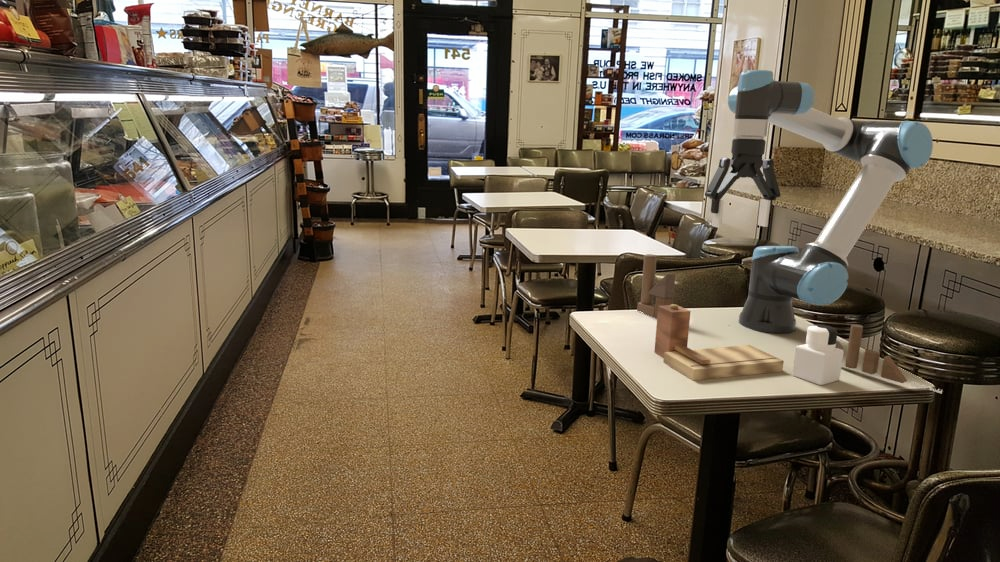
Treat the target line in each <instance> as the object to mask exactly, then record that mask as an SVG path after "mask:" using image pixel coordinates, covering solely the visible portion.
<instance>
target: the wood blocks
mask: <svg viewBox="0 0 1000 562" xmlns="http://www.w3.org/2000/svg"><path fill="white" fill-rule="evenodd" d="M863 331H864V326H863V325H861V324H856V323H855V324H850V331H849V337H848V343H847V351H846V357H845V365H844V366H845V367H846V368H848V369H857V368H858V363H859V356H860V350H861V342H862V336H863ZM843 347H844V346H843V345H842V343H840V341H839V340H838V339H837V340H836V347H835V348H838V349H842V350H843V349H844V348H843ZM843 351H844V350H843ZM863 353H864V354H863V359H862V366H861V372H862V373H865V374H869V375H874V374H877V372H878V368H879V361H880V356H881V352H879V351H877V350H873V349H867V350H864V352H863ZM882 361H883V362H882V366H881V374H880V377H881V378H882V379H886V380H890V381H894V382H895V383H901V384H905V383H906V382H908V379H907V378H906V376H905V375H904V374H903V373H902V371H901V369H900V368H899V367H898V365H897V364H896V363H895V361H894V360H893V359H892V358H891V356H890V355H887V356H884V357H883V360H882ZM910 385H911V386H912V387H916V388H917V389H918V388H921V389H924V390H926V386H925V384H922V385H921V384H919V382H915V381H910ZM928 388H929V391H933V392H936V393H938V394H943V389H940V388H938V389H934V388H933V387H932V386H929V387H928Z"/></svg>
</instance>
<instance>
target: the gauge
mask: <svg viewBox="0 0 1000 562" xmlns="http://www.w3.org/2000/svg"><path fill="white" fill-rule="evenodd" d="M691 313H692V312H691V310H689V309H687V308H684V307H683V306H679V305H678V304H674V303H673V304H671V305H664V306H658V315H657V319H656V330H655V342H654V350H653V351H654V354H656V355H658V356H659V357H661V358H662V359H664V352H674V351H678V352H680V353H682V354H684V355H686V356H688V357H689V358H691V359H693V360H695V361H697V362H698V363H700V364H702V365H703V364H710V359H708V358H706V357H705V356H703V355H701V354H699V353H697V352H695V351H693V350H694V349H691V348H689V346H688V341H689V334H690V333H689V330H690V322H691V321H690V320H691Z"/></svg>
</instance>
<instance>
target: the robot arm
mask: <svg viewBox="0 0 1000 562" xmlns="http://www.w3.org/2000/svg"><path fill="white" fill-rule="evenodd" d="M814 100H815V91H814V88H813V86H811V85H810V84H809V83H807V82H800V81H785V80H782V81H779V80H774V72H773V71H772V70H766V69H749V70H748V69H747V70H743V71H742V72H741V73H739V79H738V83H737V86H735V87H733V88H732V89H731V91H730V92H729V95H728V98H727V105H728V109H729V110H730V111H731V112H732V113H733V114H734V123H733V132H732V134H733V136H734V137H735V138H733V139H732V140H731V141H732V142H731V154H732V155H731V156H732V157H731V159H730V158H728V157H721V158H720V159H719V162H718V167H717V169H716V171H715V173H714V175H713V177H712V179H711V181H710V182H709V185H708V186H707V189H706V191H705V193H704V196H705V197H708V198H709V199H710V200H711V207H710V213H711V214H712V219H711V227H714V228H719V229H720V228H722V222H723V214H724V205H725V204H724V203H725V201H724V200H722V198H723V197H724V196H725V194H726V193H727V192H728V191H729V190H730V189H731V187H732V186H733V185H734V184H735V183H736V181H737V180H739V179H740V178H751V179H752V180H753V182H754V184H755V185H756V186H757V189H758V190H759V192H760V194H761V196H762V197H763V198H762V199H761V198H760V202H759V203H760V204H759V210H758V218H757V226H760V227H764V228H767V227H769V218H770V216H769V215H770V214H771V213H772V209H773V207H772V206H773V201H776V200H777V198H780V197H781V190H780V187H779V183H778V180H777V177H776V173H775V171H774V170H775V169H774V159H772V158H763V155H764V154H765V151H766V142H767V141H766V139H764V138H765V137H768V136H767V134H768V127H769V126H768V125H769V124H771V125H774V126H776V127H778V128H780V129H784V130H786V131H789V132H791V133H794V134H795V135H798V136H801V137H804V138H805V139H809V140H811V141H814V142H816V143H818V144H821V145H822V146H823V148H824V149H825V150H826V151H828V152H831V153H834V154H836V155H838V156H840V157H843V158H845V159H848V160H851V161H853V162H856V163H858V164H859V163H860V164H861V166H862V168H861V169H860V171H859V172H858V174H857V176H856V177H855V178H854V180H853V181H852V183H851V185H850V186H849V188H848V189H847V190H846V192H845V194H844V195H843V196H842V199H841V200H840V202H839V203H838V205H837V207H836V208H835V210H834V211H833V212H832V215H831V216H830V218H829V219H828V220H827V222H826V224H825V225H824V226H823V228H822V230H821V231H820V232H819V234H818V236H817V238H816V239H815V241H812V242H809V243H806V244H805V245H804V246H803V248H802V250H801V251H799V248H798V247H797V246H793V245H792V246H791V245H762V246H761V245H760V246H757V247H755V248H754V249H753V253H752V259H750V260H751V265H750V275H749V284H748V285H749V286H748V296H747V299H746V301H745V302H744V305H743V307H742V310H741V312H740V313H739V315H738V324H739V325H741V326H742V327H744V328H747V329H749V330H752V331H758V332H764V333H771V334H785V333H786V334H787V333H791V332H792V333H793V332H794V331H795V330H796V326H797V320H796V317H795V316H796V315H795V311H794V306H793V299H796V300H799V301H802V302H803V303H805V304H809V305H817V306H826V305H830V304H832V303H834V302H835V301H838V299H840V298H841V297H842V295H843V294H844V293H845V291H846V290H847V286H848V284H849V283H848V280H849V272H848V270H847V269H848V267H849V262H848V260H847V257H848V255H849V254H850V252H851V251H852V249H853V248H854V246H855V244H856V243H857V242H858V240H859V239H860V237H861V235H862V234H863V232H864V230H865V229H866V228H867V226H868V224H869V223H870V222H871V219H872V218H873V217H874V215H875V213H876V212H877V211H878V210H879V208H880V205H882V203H883V201H884V199H885V198H886V196H887V195H888V193H889V192H890V190H891V189H892V187H893V185H894V184H895V183H896V182H900V181H903V180H905V178H906V177H907V175H908V174H909V172H910V171H911V169H919V168H921V167H924V166H925V165H926V164H927V163H928V162H929V160H930V158H931V156H932V154H933V153H932V152H933V148H934V147H933V146H934V143H933V142H934V141H933V136H932V132H931V131H930V129H929V127H928V126H927V125H926V124H925V123H923V122H920V121H911V120H904V121H901V120H900V121H894V120H893V121H891V120H888V121H884V120H883V121H882V120H880V121H879V120H877V121H876V120H855V119H850V118H848V117H843V116H841V117H835V116H832V115H831V114H828V113H825V112H823V111H821V110H819V109H816V108H814V107H813V105H814V102H815V101H814ZM730 167H731V168H730ZM729 169H730V170H729ZM761 169H762V170H761Z"/></svg>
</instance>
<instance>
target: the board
mask: <svg viewBox="0 0 1000 562" xmlns="http://www.w3.org/2000/svg"><path fill="white" fill-rule="evenodd" d="M692 350H693V351H695V352H697V353H699V354H701V355H703V356H705V357H706V358H708V359H710V364H703V365H702V364H700V363H698V362H697V361H695V360H693V359H691V358H689V357H688V356H686V355H684V354H682V353H680V352H678V351H674V352H664V358H663V361H662V362H663V363H664V364H665V365H667V366H668V367H670V368H671V369H674V370H675V371H676V372H679V373H680V374H681V375H683V376H685V377H687V378H689V379H690V380H692V381H699V380H700V381H702V380H710V379H720V378H731V377H739V376H749V375H758V374H768V373H778V372H783V369H784V364H785V363H784V360H783V359H780V358H778V357H777V356H774V355H772V354H770V353H767V352H766V351H763V350H762V349H758V348H757V347H755V346H752V345H750V344H745V345H732V346H723V347H722V346H721V347H709V348H701V349H699V348H697V349H692Z"/></svg>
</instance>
